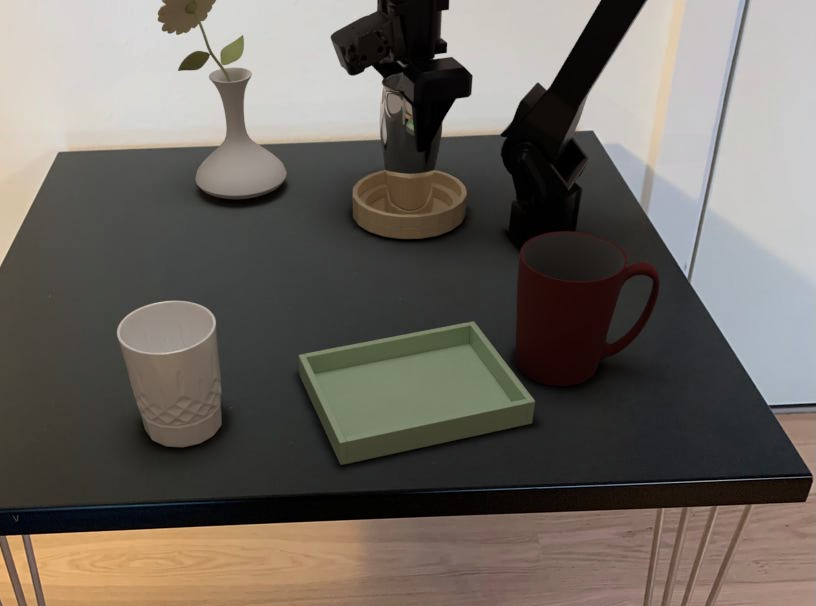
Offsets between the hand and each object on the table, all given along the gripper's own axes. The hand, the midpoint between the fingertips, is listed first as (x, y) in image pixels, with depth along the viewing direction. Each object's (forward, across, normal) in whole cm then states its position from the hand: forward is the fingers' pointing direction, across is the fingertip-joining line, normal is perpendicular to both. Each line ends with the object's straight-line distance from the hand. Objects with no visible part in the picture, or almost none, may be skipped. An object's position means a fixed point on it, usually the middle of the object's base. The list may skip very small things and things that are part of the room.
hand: (410, 139), depth 101 cm
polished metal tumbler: (+9, 0, 0) cm, 9 cm away
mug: (+9, +34, +4) cm, 35 cm away
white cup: (+9, +31, -32) cm, 45 cm away
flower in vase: (+9, -14, -18) cm, 25 cm away
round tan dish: (+9, 0, 0) cm, 9 cm away
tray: (+9, +34, -12) cm, 37 cm away
